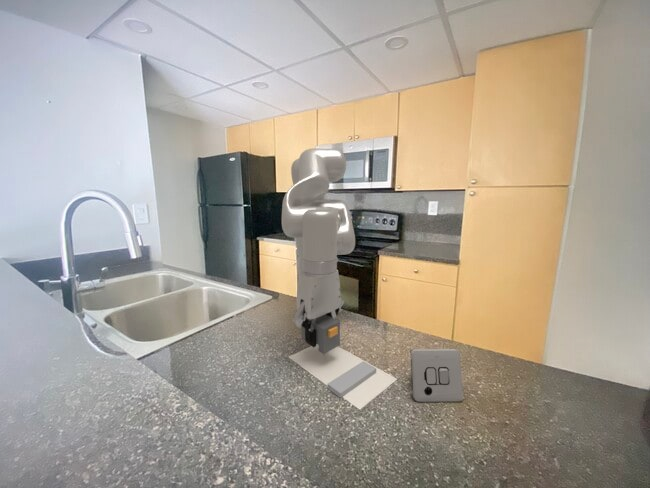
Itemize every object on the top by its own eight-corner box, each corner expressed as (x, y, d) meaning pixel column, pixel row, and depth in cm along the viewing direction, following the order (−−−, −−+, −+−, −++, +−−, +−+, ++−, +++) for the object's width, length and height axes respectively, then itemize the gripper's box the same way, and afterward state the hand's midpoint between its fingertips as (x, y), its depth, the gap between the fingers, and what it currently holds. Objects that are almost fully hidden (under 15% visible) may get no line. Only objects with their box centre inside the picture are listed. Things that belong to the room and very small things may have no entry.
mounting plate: (325, 343, 70) (325, 335, 70) (397, 384, 54) (397, 374, 54) (286, 362, 62) (286, 353, 62) (357, 417, 46) (357, 405, 46)
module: (317, 331, 66) (317, 309, 65) (341, 346, 60) (341, 322, 59) (301, 339, 63) (301, 316, 62) (325, 355, 57) (325, 330, 56)
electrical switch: (414, 403, 49) (415, 355, 49) (405, 386, 54) (406, 343, 54) (463, 403, 49) (465, 354, 49) (450, 386, 54) (451, 342, 54)
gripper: (335, 256, 66) (334, 321, 70) (277, 269, 55) (280, 347, 59) (357, 262, 61) (355, 332, 65) (299, 278, 50) (301, 363, 53)
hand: (320, 338), depth 62 cm, fingers closed on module, 5 cm apart
